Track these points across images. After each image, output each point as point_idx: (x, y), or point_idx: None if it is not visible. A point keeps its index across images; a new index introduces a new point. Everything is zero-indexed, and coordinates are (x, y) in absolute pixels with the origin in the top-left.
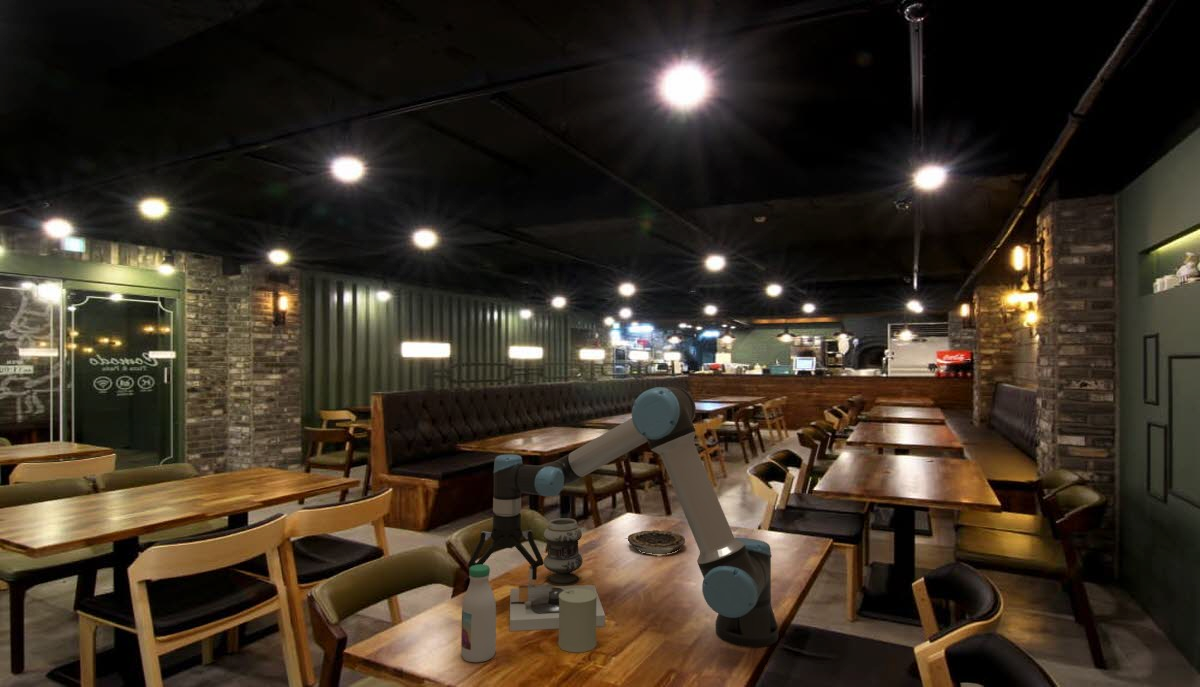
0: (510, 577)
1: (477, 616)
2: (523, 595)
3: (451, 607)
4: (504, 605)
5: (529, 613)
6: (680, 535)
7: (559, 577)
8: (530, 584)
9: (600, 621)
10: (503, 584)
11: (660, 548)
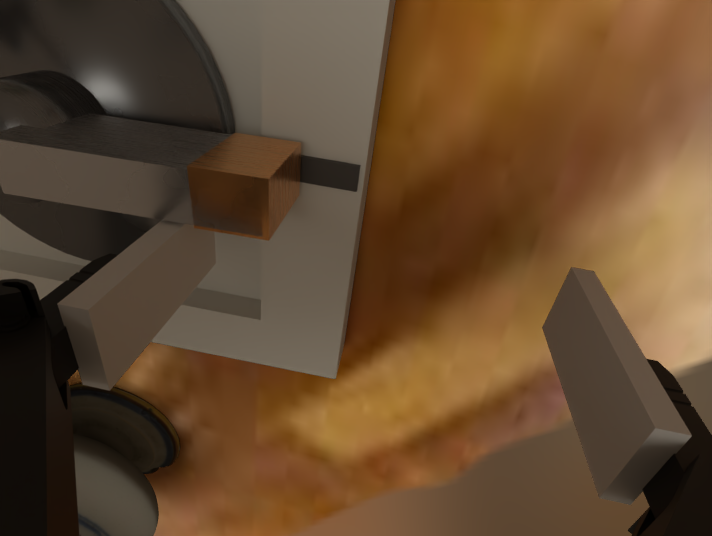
0: (320, 503)
1: None
2: (252, 153)
3: (671, 335)
4: (385, 275)
5: (247, 50)
6: None
7: (117, 432)
8: (170, 226)
9: None
10: (355, 465)
11: None
